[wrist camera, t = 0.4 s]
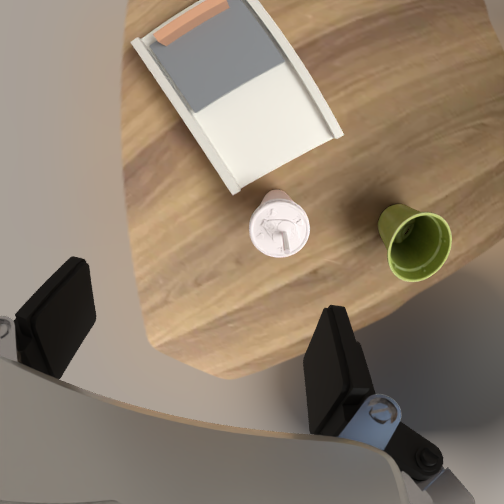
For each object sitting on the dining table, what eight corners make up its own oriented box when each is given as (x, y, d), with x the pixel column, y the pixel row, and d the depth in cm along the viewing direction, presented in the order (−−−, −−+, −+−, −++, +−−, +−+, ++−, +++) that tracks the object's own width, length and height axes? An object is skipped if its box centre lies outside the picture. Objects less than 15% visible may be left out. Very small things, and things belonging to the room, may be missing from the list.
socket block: (149, 50, 31) (130, 42, 25) (242, -6, 27) (237, -25, 21) (237, 182, 39) (232, 195, 33) (332, 130, 35) (344, 135, 29)
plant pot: (387, 180, 37) (414, 198, 30) (433, 210, 39) (463, 233, 31) (355, 236, 41) (373, 266, 34) (402, 260, 43) (424, 291, 35)
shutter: (152, 47, 26) (140, 41, 23) (236, -4, 23) (232, -16, 20) (197, 113, 30) (189, 113, 27) (284, 62, 27) (286, 56, 24)
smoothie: (286, 232, 42) (294, 289, 29) (244, 212, 41) (234, 262, 28) (309, 193, 39) (329, 235, 26) (266, 171, 38) (266, 203, 25)
